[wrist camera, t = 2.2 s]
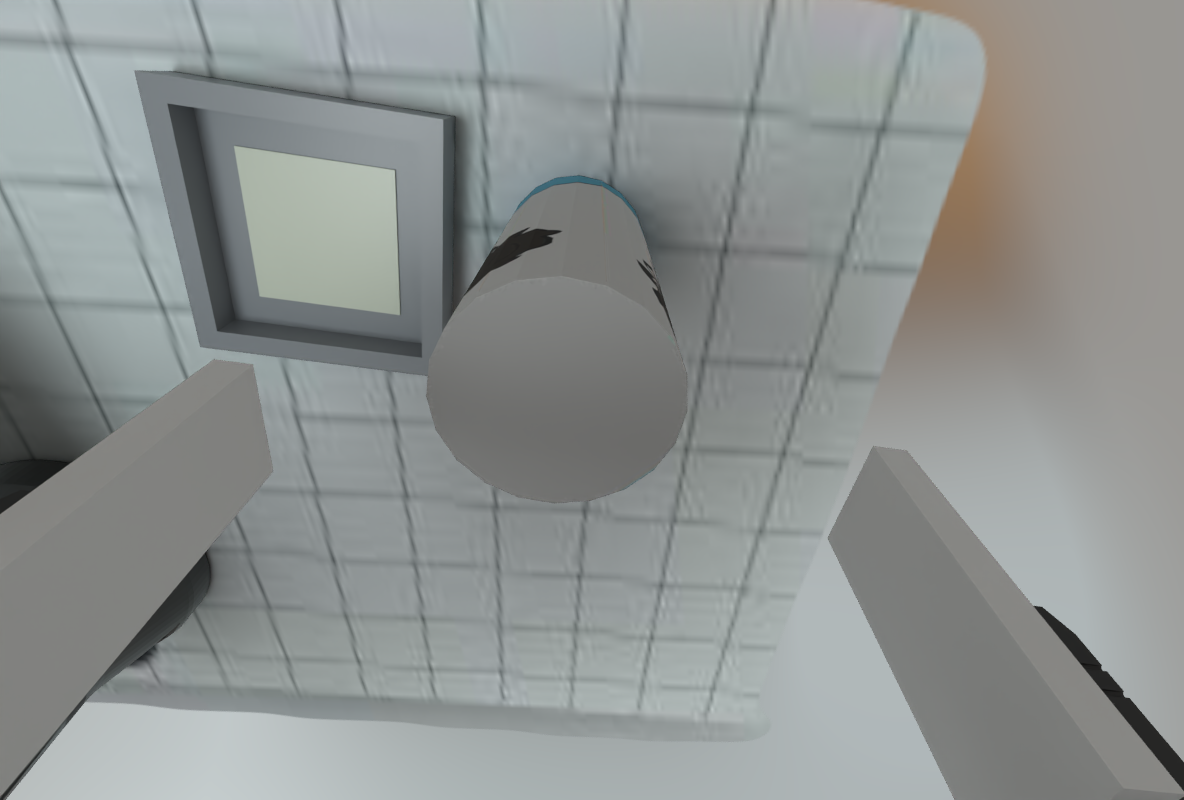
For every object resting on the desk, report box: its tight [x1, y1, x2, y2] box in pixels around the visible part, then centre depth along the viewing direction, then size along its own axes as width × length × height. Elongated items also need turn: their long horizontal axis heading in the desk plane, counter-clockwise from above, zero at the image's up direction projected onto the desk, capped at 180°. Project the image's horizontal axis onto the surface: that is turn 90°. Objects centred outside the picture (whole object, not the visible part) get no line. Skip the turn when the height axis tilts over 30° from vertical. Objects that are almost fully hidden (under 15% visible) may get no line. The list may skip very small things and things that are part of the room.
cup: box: [426, 176, 687, 503], centre depth 21 cm, size 7×7×15 cm
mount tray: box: [135, 71, 455, 376], centre depth 26 cm, size 12×12×2 cm
